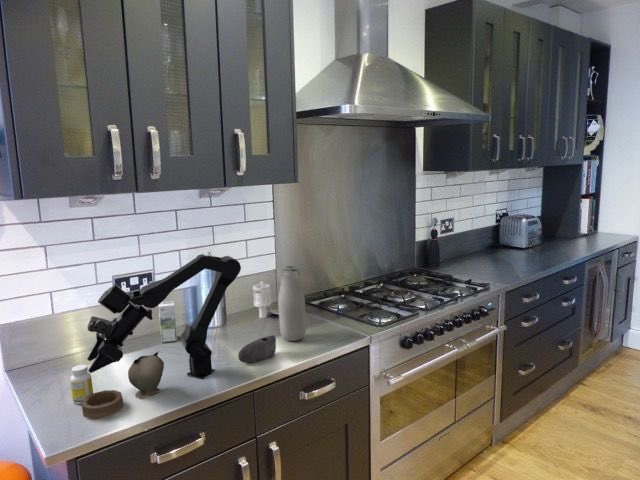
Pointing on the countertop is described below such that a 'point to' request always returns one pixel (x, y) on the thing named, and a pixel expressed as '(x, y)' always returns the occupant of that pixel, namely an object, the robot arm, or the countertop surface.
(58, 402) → the countertop surface
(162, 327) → the syrup box
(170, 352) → the countertop surface
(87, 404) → the walnut ring socket
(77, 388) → the supplement bottle
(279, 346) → the countertop surface
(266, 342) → the perforated stone tool
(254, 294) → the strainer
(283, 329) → the grey bottle vase
